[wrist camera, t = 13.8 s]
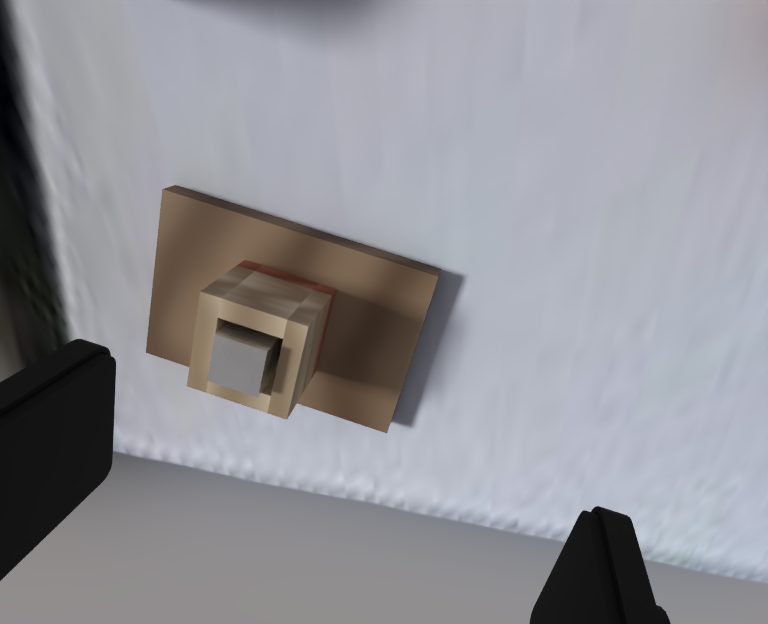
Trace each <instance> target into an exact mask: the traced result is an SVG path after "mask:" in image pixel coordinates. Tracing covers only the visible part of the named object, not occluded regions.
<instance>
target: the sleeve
mask: <svg viewBox="0 0 768 624" xmlns="http://www.w3.org/2000/svg"><path fill="white" fill-rule="evenodd" d="M336 290H337V289H335V288H332V287H328V286H325V285H322V284H319V283H316V282H313V281H310V280H306V279H303V278H300V277H297V276H294V275H291V274H288V273H284V272H281V271H278V270H275V269H272V268H269V267H266V266H263V265H259V264H256V263H253V262H250V261H247V260H244V261H242V262H241V263H239V264H238V265H237V266H235V267H234V268H232V269H231V270H230V271H228V272H227V273H225V274H224V275H223V276H221V277H220V278H218V279H217V280H215V281H214V282H213V283H211V284H210V285H208V286H207V287H206V288H204V289H203V290H201V291H200V296H199V303H198V310H197V317H196V324H195V332H194V339H193V346H192V353H191V361H190V368H189V375H188V382H187V386H188V387H191V388H194V389H197V390H200V391H203V392H206V393H209V394H212V395H215V396H218V397H221V398H224V399H227V400H230V401H233V402H236V403H239V404H242V405H245V406H248V407H251V408H254V409H257V410H260V411H263V412H266V413H269V414H272V415H275V416H278V417H281V418H284V419H287V418H288V417H289V415H290V413H291V412H292V410H293V409H294V407H295V405H296V404H297V402H298V400H299V399H300V397H301V395H302V394H303V392H304V390H305V389H306V387H307V386H308V384H309V382H310V381H311V379H312V377H313V376H314V374H315V372H316V370H317V366H318V362H319V358H320V354H321V350H322V346H323V342H324V338H325V334H326V330H327V326H328V322H329V318H330V314H331V310H332V306H333V302H334V298H335V294H336ZM229 321H230V322H233V323H236V324H239V325H242V326H245V327H248V328H251V329H254V330H257V331H260V332H263V333H266V334H269V335H272V336H276V337H279V338H282V339H283V342H282V347H281V351H280V356H279V361H278V365H277V370H276V374H275V375H274V377H273V378H272V379H271V381H270V382H269V383H268V385H267V386H266V387H265V389H264V390H263V392H262V393H261V394H260V396H259V397H258V398H257V397H254V396H251V395H248V394H245V393H242V392H239V391H236V390H233V389H230V388H227V387H224V386H221V385H218V384H215V383H212V382H209V381H207V379H208V372H209V366H210V360H211V353H212V347H213V341H214V335H215V333H217V332H218V331H219V330H220V329H221V328H222V327H223V326H224V325H225V324H226V323H228V322H229Z"/></svg>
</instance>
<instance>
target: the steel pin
mask: <svg viewBox="0 0 768 624" xmlns="http://www.w3.org/2000/svg"><path fill="white" fill-rule="evenodd" d="M282 342H283V339H282V338H279V337H276V336H272V335H269V334H266V333H263V332H260V331H257V330H254V329H251V328H248V327H245V326H242V325H239V324H236V323H233V322H230V321H229V322H228V323H226V324H225V325H224V326H223V327H222V328H221V329H220V330H219V331H218V332H217V333H215V335H214V341H213V347H212V353H211V360H210V366H209V372H208V379H207V381H209V382H212V383H215V384H218V385H221V386H224V387H227V388H230V389H233V390H236V391H239V392H242V393H245V394H248V395H251V396H254V397H257V398H258V397H259V396H260V394H261V393H262V392H263V390H264V389H265V387H266V386H267V385H268V383H269V382H270V381H271V379H272V378H273V377H274V375H275V374H276V370H277V365H278V361H279V356H280V351H281V347H282Z"/></svg>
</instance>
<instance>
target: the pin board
mask: <svg viewBox="0 0 768 624" xmlns="http://www.w3.org/2000/svg"><path fill="white" fill-rule="evenodd" d="M244 260H247V261H250V262H253V263H256V264H259V265H263V266H266V267H269V268H272V269H275V270H278V271H281V272H284V273H288V274H291V275H294V276H297V277H300V278H303V279H306V280H310V281H313V282H316V283H319V284H322V285H325V286H328V287H332V288H335V289H337V290H336V294H335V298H334V302H333V306H332V310H331V314H330V318H329V322H328V326H327V330H326V334H325V338H324V342H323V346H322V350H321V354H320V358H319V362H318V366H317V370H316V372H315V374H314V376H313V377H312V379H311V381H310V382H309V384H308V386H307V387H306V389H305V390H304V392H303V394H302V395H301V397H300V399H299V400H298V402H297V403H298V404H301V405H304V406H307V407H310V408H313V409H316V410H319V411H322V412H325V413H328V414H331V415H334V416H337V417H340V418H343V419H346V420H349V421H352V422H355V423H358V424H361V425H364V426H367V427H370V428H373V429H376V430H379V431H382V432H385V433H387V432H388V428H389V425H390V422H391V419H392V416H393V413H394V410H395V407H396V404H397V401H398V398H399V395H400V392H401V389H402V386H403V383H404V380H405V377H406V374H407V371H408V368H409V365H410V362H411V359H412V356H413V353H414V350H415V347H416V344H417V341H418V338H419V335H420V332H421V329H422V326H423V323H424V320H425V317H426V314H427V311H428V308H429V305H430V302H431V299H432V296H433V293H434V290H435V287H436V284H437V281H438V278H439V274H440V270H441V269H438V268H435V267H432V266H429V265H425V264H422V263H419V262H416V261H413V260H410V259H406V258H403V257H400V256H397V255H394V254H391V253H388V252H384V251H381V250H378V249H375V248H372V247H369V246H365V245H362V244H359V243H356V242H353V241H350V240H346V239H343V238H340V237H337V236H334V235H331V234H327V233H324V232H321V231H318V230H315V229H312V228H308V227H305V226H302V225H299V224H296V223H293V222H289V221H286V220H283V219H280V218H277V217H274V216H271V215H267V214H264V213H261V212H258V211H255V210H252V209H248V208H245V207H242V206H239V205H236V204H233V203H229V202H226V201H223V200H220V199H217V198H214V197H210V196H207V195H204V194H201V193H198V192H195V191H191V190H188V189H185V188H182V187H179V186H176V185H174V186H171V187H168V188H165V189H163V190H162V200H161V210H160V220H159V229H158V239H157V249H156V259H155V269H154V278H153V288H152V298H151V308H150V318H149V327H148V337H147V347H146V353H149V354H152V355H155V356H158V357H161V358H164V359H167V360H170V361H173V362H176V363H179V364H182V365H185V366H188V367H190V361H191V353H192V346H193V339H194V332H195V324H196V317H197V310H198V303H199V296H200V291H201V290H203V289H204V288H206V287H207V286H208V285H210V284H211V283H213V282H214V281H215V280H217V279H218V278H220V277H221V276H223V275H224V274H225V273H227V272H228V271H230V270H231V269H232V268H234V267H235V266H237V265H238V264H239V263H241V262H242V261H244Z"/></svg>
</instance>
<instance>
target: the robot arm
mask: <svg viewBox="0 0 768 624" xmlns="http://www.w3.org/2000/svg"><path fill="white" fill-rule="evenodd" d="M115 378H116V361H115V359H114V358H113V357H111V355H110V351H109V349H108V348H106V347H104V346H101V345H98V344H95V343H92V342H89V341H86V340H83V339H76V340H73V341H71V342H69V343H68V344H66V345H64V346H63V347H61V348H59V349H57V350H56V351H54V352H52V353H50V354H49V355H47V356H45V357H43V358H42V359H40V360H38V361H37V362H35V363H33V364H31V365H30V366H28V367H26V368H24V369H23V370H21V371H19V372H17V373H16V374H14V375H12V376H11V377H9V378H7V379H5V380H4V381H2V382H0V581H1V580H2V579H3V578H4V577H5V576H6V575H7V574H8V573H9V572H10V571H11V570H12V569H13V568H14V567H15V566H16V565H17V564H18V563H19V562H20V561H21V560H22V559H23V558H24V557H25V556H26V555H27V554H29V553H30V551H32V550H33V549H34V547H36V546H37V545H38V544H39V543H40V542H41V541H42V540H43V539H44V538H45V537H46V536H47V535H48V534H49V533H50V532H51V531H52V530H53V529H54V528H55V527H56V526H57V525H58V524H59V523H60V522H61V521H63V520H64V519H65V518H66V517H67V516H68V515H69V514H70V513H71V512H72V511H73V510H74V509H75V508H76V507H77V506H78V505H79V504H80V503H81V502H82V501H83V500H84V499H85V498H86V497H87V496H88V495H89V494H90V493H91V492H93V491H94V490H95V489H96V488H97V487H98V486H99V485H100V484H101V483H102V482H103V481H104V480H105V478H106V477H107V475H108V473H109V471H110V469H111V466H112V455H113V453H112V452H113V429H114V404H115ZM530 624H670V621H669V618H668V616H667V614H666V612H665V611H664V610H663V609H662V607H660V606H657V605H656V603H655V599H654V596H653V593H652V589H651V585H650V583H649V579H648V575H647V572H646V568H645V565H644V561H643V558H642V554H641V551H640V548H639V544H638V541H637V537H636V534H635V530H634V527H633V523H632V521H631V519H630V517H628V516H627V515H624V514H621V513H618V512H614V511H611V510H608V509H605V508H602V507H599V506H597V507H595V508H594V509H593V510H592V511H591V512H588V511H582V512H581V514H580V515H579V517H578V519H577V521H576V523H575V525H574V527H573V529H572V531H571V533H570V535H569V537H568V539H567V541H566V543H565V545H564V547H563V549H562V551H561V553H560V555H559V557H558V559H557V561H556V564H555V565H554V568H553V570H552V571H551V574H550V576H549V578H548V580H547V582H546V584H545V586H544V588H543V590H542V592H541V594H540V596H539V598H538V600H537V602H536V604H535V606H534V608H533V611H532V614H531V618H530Z"/></svg>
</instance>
